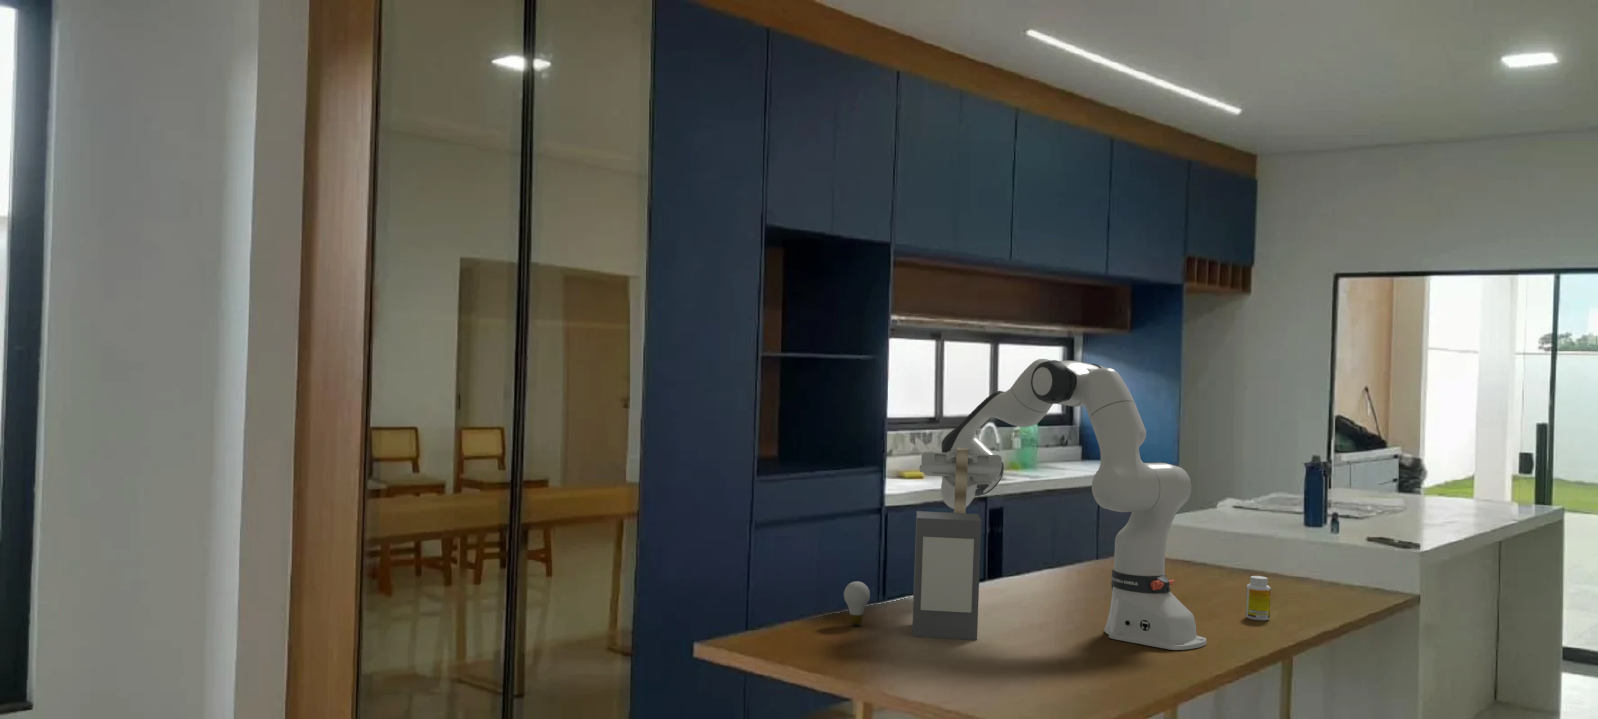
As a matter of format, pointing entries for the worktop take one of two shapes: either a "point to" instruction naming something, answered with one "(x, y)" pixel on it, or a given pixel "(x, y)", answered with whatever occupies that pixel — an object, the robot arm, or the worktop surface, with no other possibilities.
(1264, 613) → the supplement bottle
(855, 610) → the light bulb
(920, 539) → the cabinet
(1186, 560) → the worktop surface
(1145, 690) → the worktop surface
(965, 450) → the bar
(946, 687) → the worktop surface
